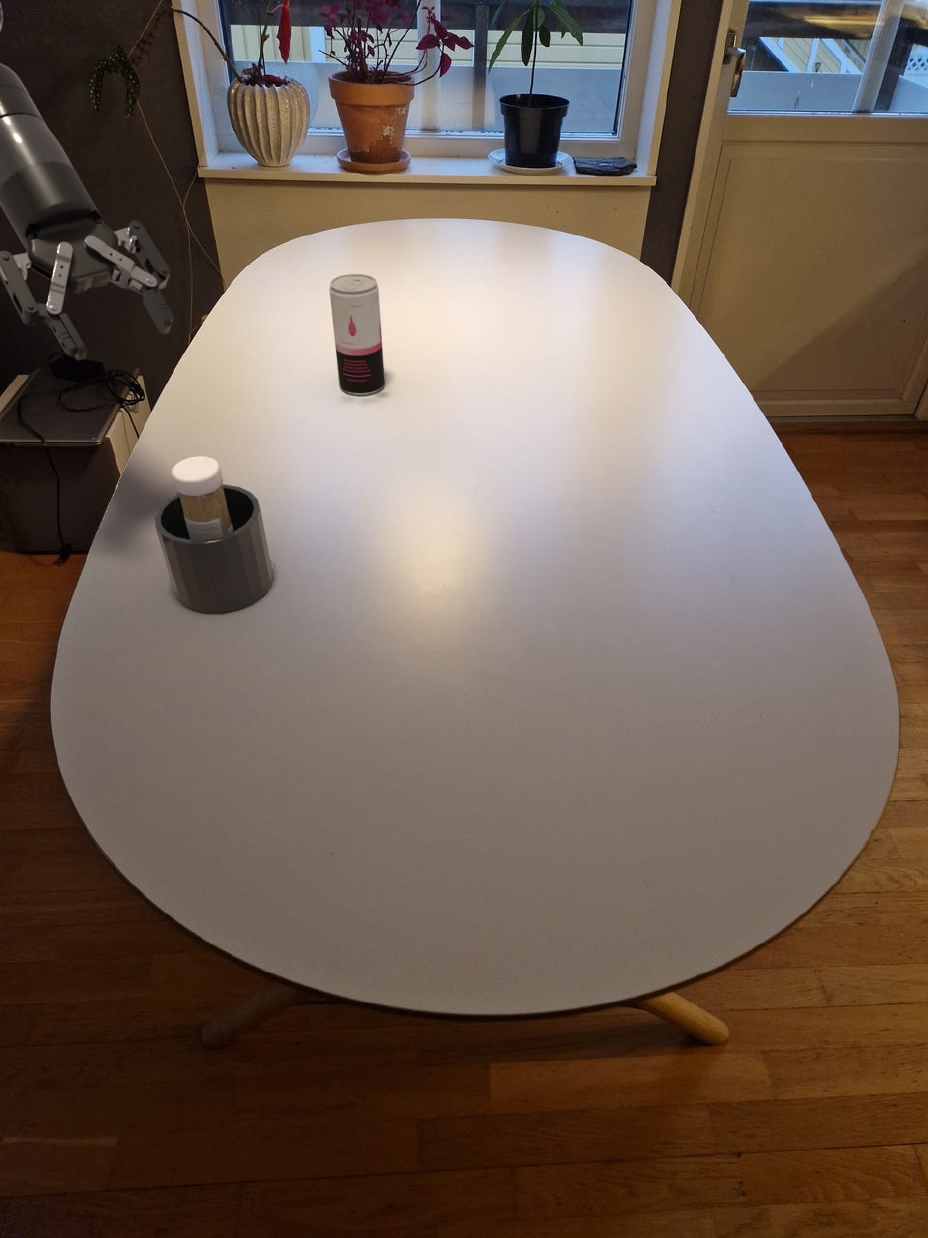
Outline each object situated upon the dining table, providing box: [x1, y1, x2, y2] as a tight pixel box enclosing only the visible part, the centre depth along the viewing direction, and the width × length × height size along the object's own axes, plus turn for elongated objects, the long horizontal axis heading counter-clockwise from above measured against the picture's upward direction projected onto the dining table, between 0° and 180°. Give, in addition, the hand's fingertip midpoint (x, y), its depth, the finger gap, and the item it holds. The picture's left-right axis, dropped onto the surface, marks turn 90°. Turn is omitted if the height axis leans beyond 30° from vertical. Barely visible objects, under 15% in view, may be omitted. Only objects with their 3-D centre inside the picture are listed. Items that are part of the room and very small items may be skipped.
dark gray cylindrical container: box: [154, 484, 274, 615], centre depth 89 cm, size 10×10×9 cm
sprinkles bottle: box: [171, 455, 234, 540], centre depth 87 cm, size 5×5×13 cm
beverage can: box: [329, 273, 386, 396], centre depth 120 cm, size 7×6×15 cm
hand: (126, 342), depth 81 cm, fingers open, 8 cm apart
